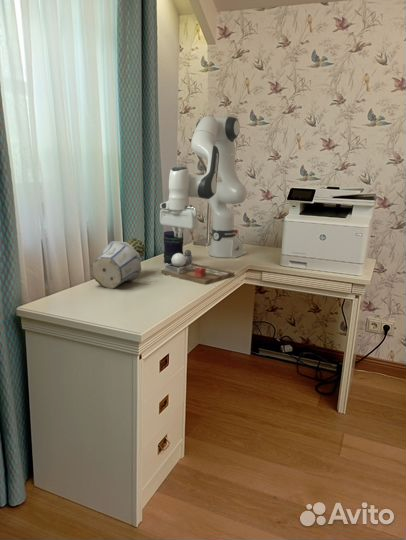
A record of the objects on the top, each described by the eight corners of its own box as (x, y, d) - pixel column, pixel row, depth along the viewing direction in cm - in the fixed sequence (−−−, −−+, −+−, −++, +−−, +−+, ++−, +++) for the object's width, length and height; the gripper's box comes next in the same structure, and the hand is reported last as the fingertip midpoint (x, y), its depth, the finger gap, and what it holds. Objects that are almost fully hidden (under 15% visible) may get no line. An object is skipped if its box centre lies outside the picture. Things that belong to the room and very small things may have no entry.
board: (191, 266, 206) (191, 256, 205) (234, 275, 189) (234, 265, 188) (161, 273, 192) (161, 263, 190) (204, 284, 175) (204, 273, 174)
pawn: (187, 264, 202) (187, 248, 200) (193, 265, 200) (193, 249, 198) (182, 265, 199) (182, 249, 197) (187, 267, 197) (188, 250, 195)
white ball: (178, 265, 195) (178, 251, 194) (188, 267, 191) (188, 253, 189) (168, 267, 190) (168, 253, 189) (178, 269, 186) (178, 255, 185)
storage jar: (186, 263, 212) (186, 233, 208) (167, 264, 208) (167, 234, 205) (179, 259, 221) (179, 230, 217) (161, 260, 217) (160, 231, 214)
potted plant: (122, 255, 158) (155, 226, 183) (81, 254, 164) (118, 225, 189) (131, 296, 166) (161, 263, 191) (91, 293, 171) (125, 261, 197)
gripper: (201, 206, 180) (200, 239, 183) (167, 203, 193) (167, 234, 196) (191, 207, 175) (190, 240, 178) (157, 204, 188) (157, 235, 191)
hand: (178, 237), depth 187 cm, fingers closed
